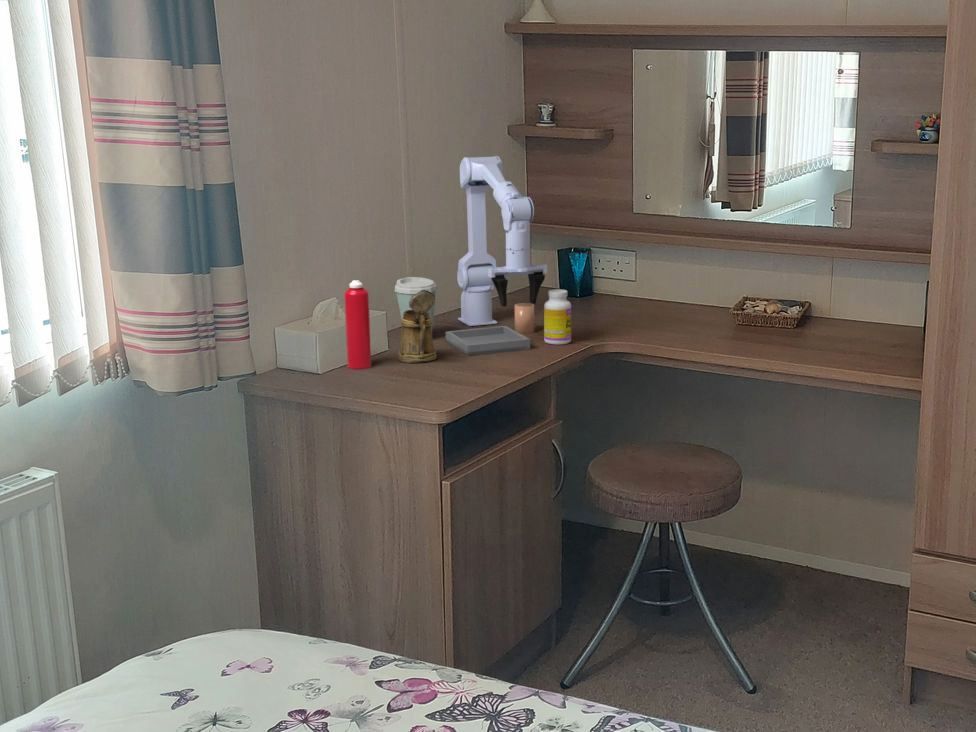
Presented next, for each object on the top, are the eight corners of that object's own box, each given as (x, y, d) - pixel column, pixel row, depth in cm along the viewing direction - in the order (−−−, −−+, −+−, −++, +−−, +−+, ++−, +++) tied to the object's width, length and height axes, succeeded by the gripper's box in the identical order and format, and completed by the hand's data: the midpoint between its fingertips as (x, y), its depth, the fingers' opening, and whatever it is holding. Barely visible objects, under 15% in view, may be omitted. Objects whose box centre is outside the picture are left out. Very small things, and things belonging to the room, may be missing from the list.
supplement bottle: (569, 345, 286) (569, 293, 283) (542, 344, 287) (542, 293, 284) (572, 339, 292) (573, 288, 289) (546, 338, 293) (546, 288, 290)
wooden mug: (406, 369, 266) (404, 291, 261) (394, 356, 278) (391, 281, 274) (445, 366, 268) (443, 288, 264) (430, 352, 281) (428, 278, 276)
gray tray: (445, 341, 292) (445, 331, 291) (505, 335, 297) (505, 325, 297) (467, 355, 277) (467, 345, 277) (530, 349, 283) (530, 339, 282)
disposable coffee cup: (447, 338, 295) (446, 279, 292) (417, 346, 288) (415, 285, 284) (417, 332, 302) (416, 274, 299) (387, 339, 295) (385, 280, 291)
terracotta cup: (511, 330, 303) (511, 303, 301) (529, 328, 304) (529, 302, 303) (519, 334, 298) (519, 307, 296) (537, 332, 300) (537, 305, 298)
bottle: (376, 366, 269) (372, 279, 264) (357, 370, 266) (353, 283, 261) (361, 362, 273) (358, 277, 268) (342, 366, 270) (338, 280, 265)
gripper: (495, 253, 275) (496, 310, 278) (552, 249, 280) (552, 305, 283) (484, 249, 281) (485, 304, 285) (540, 244, 286) (540, 299, 290)
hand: (518, 304), depth 285 cm, fingers open, 7 cm apart
